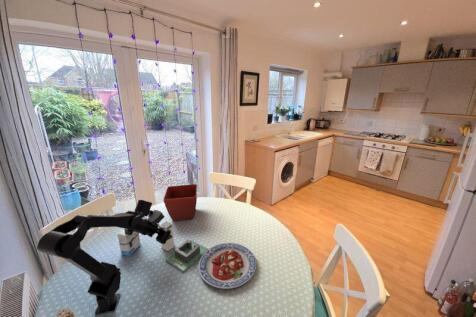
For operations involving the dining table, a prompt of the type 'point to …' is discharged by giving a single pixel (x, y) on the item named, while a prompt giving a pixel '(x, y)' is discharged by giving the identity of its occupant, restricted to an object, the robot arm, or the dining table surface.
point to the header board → (186, 255)
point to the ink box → (128, 242)
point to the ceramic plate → (227, 265)
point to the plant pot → (181, 201)
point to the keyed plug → (170, 242)
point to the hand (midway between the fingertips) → (165, 233)
